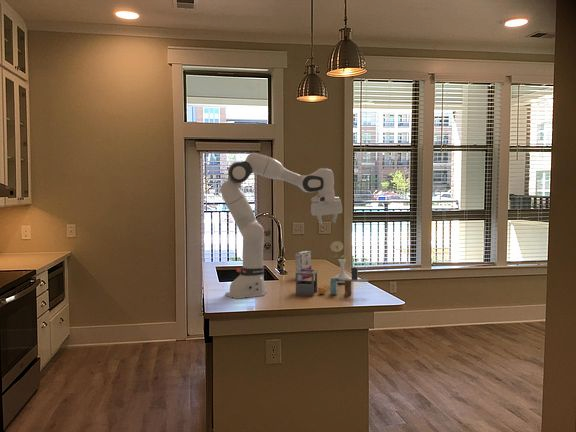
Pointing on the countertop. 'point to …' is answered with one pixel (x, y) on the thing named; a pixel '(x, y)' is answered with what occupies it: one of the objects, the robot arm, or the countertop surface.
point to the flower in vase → (338, 247)
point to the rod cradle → (347, 287)
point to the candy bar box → (303, 262)
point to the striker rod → (334, 280)
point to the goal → (306, 283)
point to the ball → (321, 290)
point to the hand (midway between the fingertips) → (327, 222)
